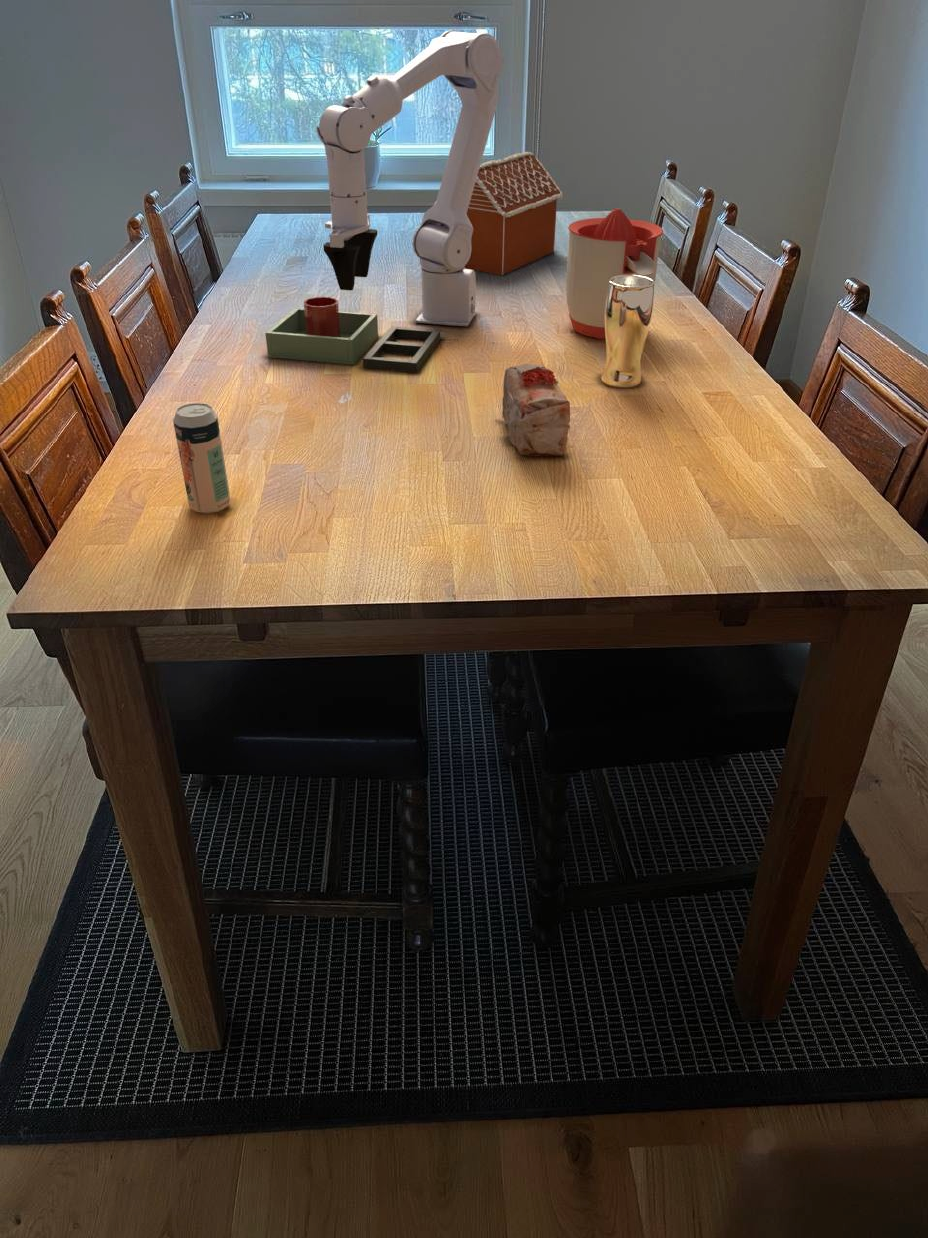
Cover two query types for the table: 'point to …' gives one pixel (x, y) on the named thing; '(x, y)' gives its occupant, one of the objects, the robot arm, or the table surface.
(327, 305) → the cup
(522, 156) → the gingerbread house
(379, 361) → the frame
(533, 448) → the food item
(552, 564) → the table surface
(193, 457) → the beer can
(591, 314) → the citrus juicer
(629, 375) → the beer glass
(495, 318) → the table surface
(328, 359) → the basin
